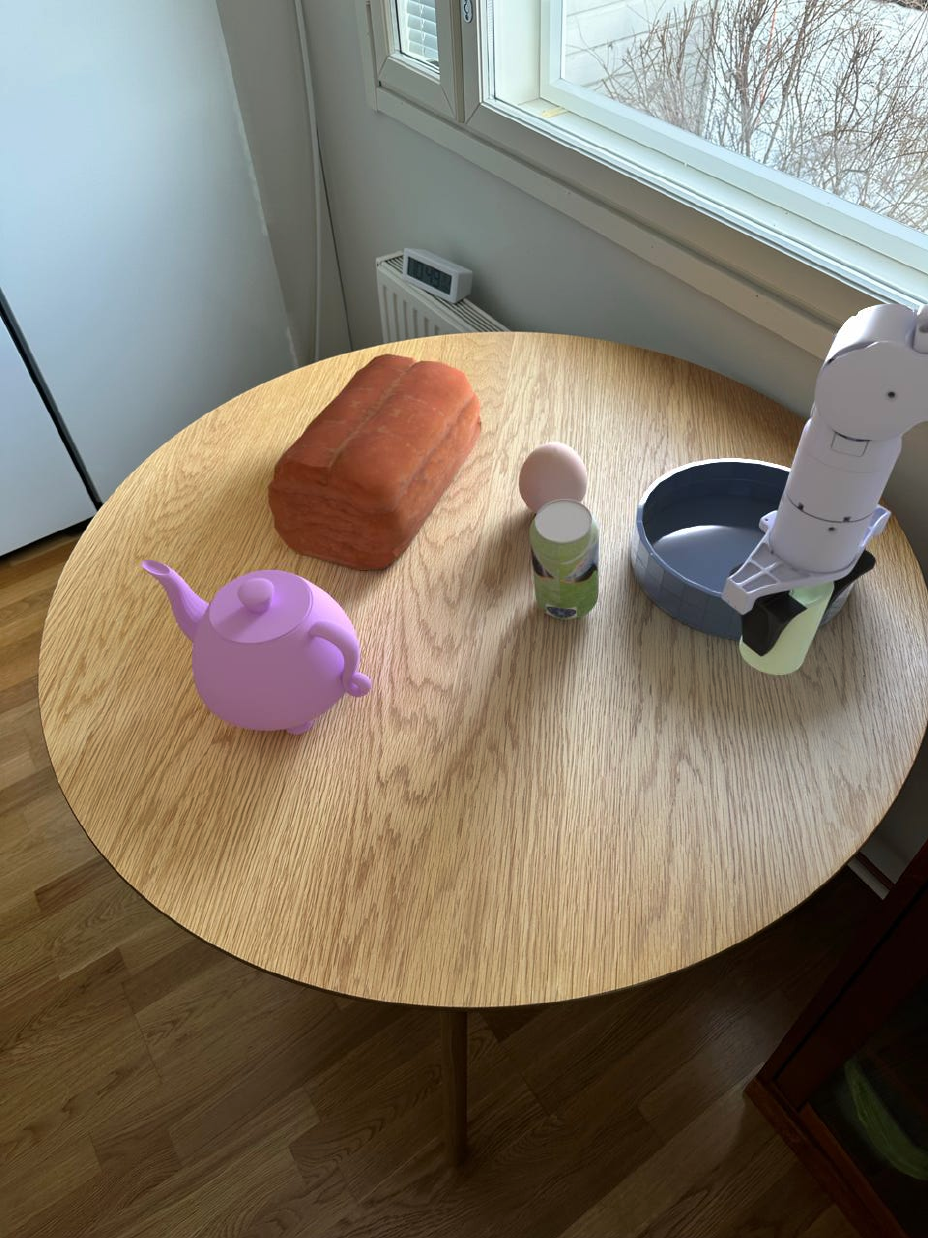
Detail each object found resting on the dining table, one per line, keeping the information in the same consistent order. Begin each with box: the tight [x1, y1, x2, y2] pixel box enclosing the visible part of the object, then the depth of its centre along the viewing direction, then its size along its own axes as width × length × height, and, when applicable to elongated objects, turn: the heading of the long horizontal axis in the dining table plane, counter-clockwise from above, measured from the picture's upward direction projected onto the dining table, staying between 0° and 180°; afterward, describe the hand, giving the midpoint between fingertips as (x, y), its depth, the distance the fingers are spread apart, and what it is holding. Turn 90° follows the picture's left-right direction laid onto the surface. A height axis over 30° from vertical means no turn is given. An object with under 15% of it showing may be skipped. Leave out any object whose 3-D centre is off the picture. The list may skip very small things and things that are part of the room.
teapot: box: [141, 559, 373, 736], centre depth 70 cm, size 20×14×12 cm
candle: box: [738, 581, 834, 676], centre depth 63 cm, size 5×5×8 cm
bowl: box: [630, 457, 867, 642], centre depth 81 cm, size 21×21×5 cm
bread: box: [267, 353, 483, 571], centre depth 89 cm, size 16×27×11 cm, turn 158°
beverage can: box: [528, 499, 600, 621], centre depth 75 cm, size 6×7×12 cm
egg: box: [518, 441, 588, 515], centre depth 86 cm, size 7×7×8 cm
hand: (779, 631), depth 64 cm, fingers closed on candle, 5 cm apart
